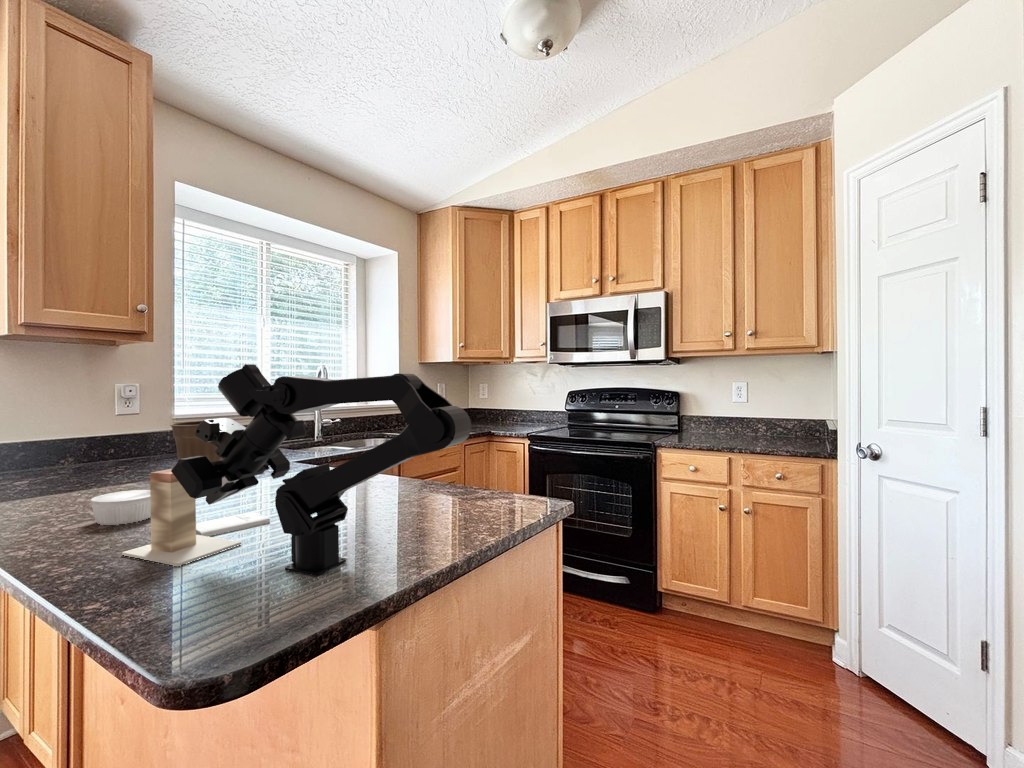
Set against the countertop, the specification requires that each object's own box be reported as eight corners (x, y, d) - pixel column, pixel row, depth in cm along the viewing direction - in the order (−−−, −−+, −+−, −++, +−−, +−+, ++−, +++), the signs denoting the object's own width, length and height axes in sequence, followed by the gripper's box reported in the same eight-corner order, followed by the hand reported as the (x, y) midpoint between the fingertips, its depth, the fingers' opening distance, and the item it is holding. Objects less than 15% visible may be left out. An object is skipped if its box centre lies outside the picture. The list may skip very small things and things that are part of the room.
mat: (241, 545, 87) (241, 541, 87) (177, 567, 76) (177, 563, 76) (187, 536, 92) (187, 533, 92) (122, 555, 82) (121, 552, 82)
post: (196, 543, 86) (195, 469, 86) (171, 552, 81) (170, 473, 81) (176, 541, 87) (175, 468, 87) (151, 550, 83) (150, 472, 83)
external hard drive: (186, 532, 96) (253, 518, 106) (201, 541, 91) (270, 525, 100) (186, 524, 96) (252, 510, 106) (201, 532, 91) (270, 517, 100)
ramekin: (157, 521, 103) (157, 496, 103) (87, 531, 96) (86, 504, 96) (158, 510, 112) (158, 487, 112) (94, 518, 106) (94, 494, 105)
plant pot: (185, 478, 148) (185, 425, 148) (161, 473, 157) (160, 423, 157) (240, 470, 162) (239, 421, 162) (215, 466, 171) (214, 419, 171)
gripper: (276, 399, 89) (228, 458, 93) (180, 404, 71) (125, 476, 75) (313, 444, 87) (263, 502, 90) (223, 460, 69) (165, 533, 72)
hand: (209, 502), depth 82 cm, fingers closed
